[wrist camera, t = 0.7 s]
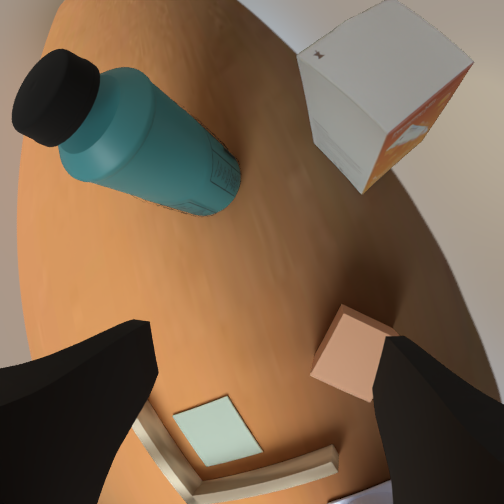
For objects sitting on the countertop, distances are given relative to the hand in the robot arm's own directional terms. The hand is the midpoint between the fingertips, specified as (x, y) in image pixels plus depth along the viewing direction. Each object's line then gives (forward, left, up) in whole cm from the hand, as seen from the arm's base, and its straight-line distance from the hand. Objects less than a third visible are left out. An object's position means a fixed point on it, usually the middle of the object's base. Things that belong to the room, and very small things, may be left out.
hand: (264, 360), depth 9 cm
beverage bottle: (+13, +2, -17) cm, 22 cm away
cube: (-5, -2, -17) cm, 18 cm away
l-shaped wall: (-8, +13, -17) cm, 23 cm away
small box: (+9, -12, -17) cm, 22 cm away
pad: (-8, +14, -17) cm, 24 cm away
